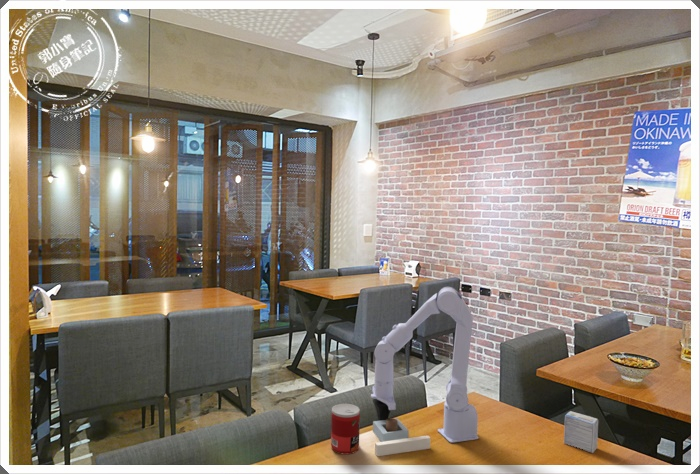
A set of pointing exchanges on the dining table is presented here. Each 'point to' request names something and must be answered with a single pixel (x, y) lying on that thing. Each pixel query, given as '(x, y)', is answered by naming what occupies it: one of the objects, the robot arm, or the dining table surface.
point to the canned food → (345, 428)
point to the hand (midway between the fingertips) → (382, 423)
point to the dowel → (391, 424)
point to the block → (383, 435)
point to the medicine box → (581, 431)
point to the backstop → (402, 445)
